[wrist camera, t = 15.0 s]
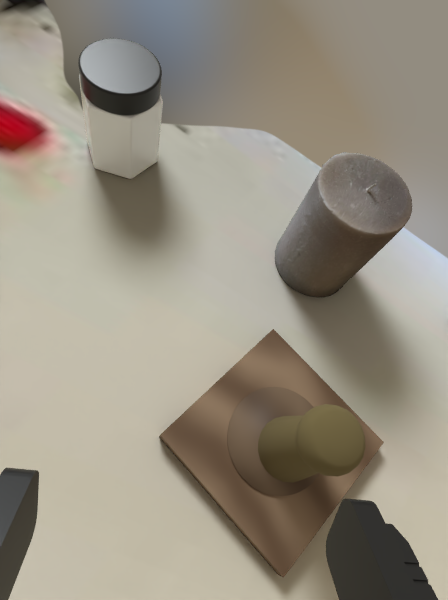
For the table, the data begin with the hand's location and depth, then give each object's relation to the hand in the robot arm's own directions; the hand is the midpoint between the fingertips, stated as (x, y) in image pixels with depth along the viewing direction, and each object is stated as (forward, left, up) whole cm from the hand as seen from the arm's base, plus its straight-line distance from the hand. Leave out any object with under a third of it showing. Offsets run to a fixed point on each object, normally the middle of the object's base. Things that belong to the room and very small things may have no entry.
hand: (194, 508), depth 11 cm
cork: (+12, -6, -28) cm, 31 cm away
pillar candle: (+31, +6, -30) cm, 43 cm away
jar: (+23, +32, -30) cm, 49 cm away
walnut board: (+12, -5, -30) cm, 32 cm away
